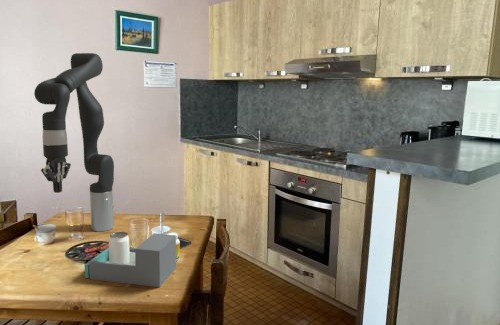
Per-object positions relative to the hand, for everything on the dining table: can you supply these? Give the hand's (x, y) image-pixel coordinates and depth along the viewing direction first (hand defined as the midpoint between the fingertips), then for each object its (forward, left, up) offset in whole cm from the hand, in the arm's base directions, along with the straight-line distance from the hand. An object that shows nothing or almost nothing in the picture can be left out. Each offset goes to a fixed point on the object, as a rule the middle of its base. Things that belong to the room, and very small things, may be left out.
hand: (57, 192), depth 136 cm
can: (+4, +25, -24) cm, 35 cm away
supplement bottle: (-10, +38, -25) cm, 47 cm away
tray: (+4, +26, -25) cm, 36 cm away
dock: (+4, +30, -25) cm, 39 cm away
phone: (-26, +32, -26) cm, 49 cm away
